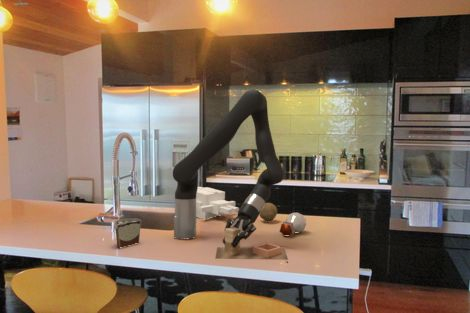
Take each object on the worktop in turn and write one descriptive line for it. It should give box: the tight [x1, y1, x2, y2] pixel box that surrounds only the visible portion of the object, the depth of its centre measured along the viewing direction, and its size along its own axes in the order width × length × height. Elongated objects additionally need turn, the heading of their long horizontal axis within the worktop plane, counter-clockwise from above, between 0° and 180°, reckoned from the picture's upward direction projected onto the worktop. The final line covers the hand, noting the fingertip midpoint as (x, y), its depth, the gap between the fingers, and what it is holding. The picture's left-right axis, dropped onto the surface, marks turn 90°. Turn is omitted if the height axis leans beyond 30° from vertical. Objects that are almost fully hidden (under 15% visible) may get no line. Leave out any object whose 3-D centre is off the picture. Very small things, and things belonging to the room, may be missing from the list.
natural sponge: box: [259, 202, 278, 222], centre depth 218 cm, size 9×9×10 cm
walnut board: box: [215, 246, 289, 261], centre depth 161 cm, size 26×14×2 cm, turn 89°
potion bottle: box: [279, 212, 307, 236], centre depth 195 cm, size 9×10×15 cm
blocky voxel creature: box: [196, 186, 240, 220], centre depth 228 cm, size 15×25×28 cm
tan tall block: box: [224, 227, 241, 255], centre depth 161 cm, size 4×4×9 cm
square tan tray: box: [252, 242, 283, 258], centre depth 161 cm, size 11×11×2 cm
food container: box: [113, 218, 143, 249], centre depth 175 cm, size 12×6×10 cm, turn 141°
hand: (228, 244), depth 159 cm, fingers closed on tan tall block, 4 cm apart
